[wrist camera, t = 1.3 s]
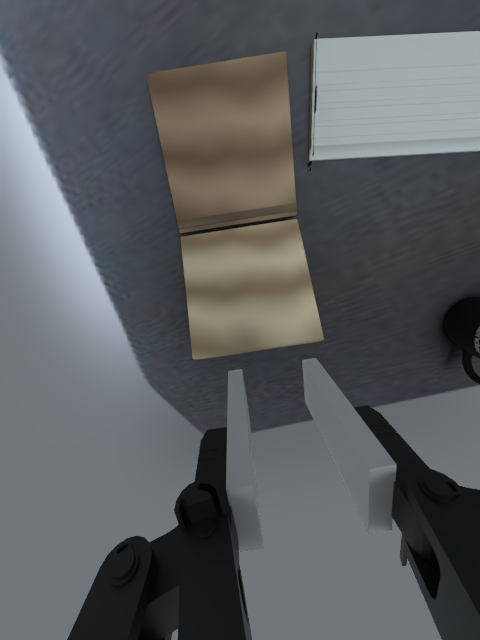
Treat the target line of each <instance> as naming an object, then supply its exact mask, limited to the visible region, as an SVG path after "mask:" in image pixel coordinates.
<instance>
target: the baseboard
mask: <svg viewBox="0 0 480 640" xmlns="http://www.w3.org/2000/svg"><path fill="white" fill-rule="evenodd" d="M317 35H318V33H317V32H316V38H315V39H314V41H313V43H312V46H311V83H310V124H309V161H310V162H309V163H308V167H309V166H310V165H311V164H312V161H325V160H342V159H359V158H376V157H393V156H411V155H428V154H445V153H462V152H480V31H472V32H451V33H430V34H410V35H389V36H368V37H347V38H326V39H317ZM310 171H311V167H310Z"/></svg>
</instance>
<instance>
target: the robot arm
mask: <svg viewBox="0 0 480 640" xmlns="http://www.w3.org/2000/svg"><path fill="white" fill-rule="evenodd" d="M302 365H303V378H304V392H305V402H306V405H307V407H308V409H309V411H310V413H311V415H312V417H313V419H314V421H315V423H316V425H317V428H318V430H319V432H320V434H321V436H322V438H323V440H324V442H325V444H326V446H327V449H328V451H329V453H330V455H331V457H332V459H333V461H334V463H335V465H336V467H337V470H338V472H339V474H340V476H341V478H342V480H343V482H344V484H345V486H346V488H347V491H348V493H349V495H350V497H351V499H352V501H353V503H354V505H355V507H356V509H357V512H358V514H359V516H360V518H361V520H362V522H363V524H364V526H365V528H366V530H367V532H368V533H373V532H380V531H387V530H392V519H394V520H395V522H396V524H397V526H398V527H399V529H400V531H401V532H402V540H401V550H400V559H401V562H402V566H406V563H407V558H408V561H409V563H410V565H411V568H412V570H413V572H414V575H415V577H416V579H417V582H418V584H419V587H420V589H421V591H422V594H423V596H424V598H425V601H426V603H427V605H428V608H429V610H430V612H431V615H432V617H433V620H434V622H435V624H436V626H437V629H438V631H439V634H440V636H441V639H442V640H480V490H477V489H471V488H466V487H462V486H459V485H458V484H457V483H456V482H455V481H453V480H452V479H450V478H449V477H447V476H446V475H444V474H442V473H440V472H437V471H435V470H432V469H430V468H429V467H428V466H427V465H426V464H425V463H424V462H423V461H422V460H421V459H420V457H419V456H418V455H417V454H416V453H415V452H414V451H413V450H412V448H411V447H410V446H409V445H408V444H407V443H406V442H405V441H404V439H403V438H402V437H401V436H400V435H399V434H398V433H396V431H395V429H394V428H393V427H392V426H391V425H389V423H388V421H387V420H386V419H385V418H384V417H383V416H382V415H381V414H380V413H379V412H377V411H376V410H374V409H373V408H371V407H369V406H362V407H355V408H353V406H352V405H351V404H350V402H349V401H348V400H347V398H346V397H345V396H344V395H343V393H342V392H341V391H340V389H339V388H338V387H337V385H336V384H335V383H334V381H333V380H332V379H331V377H330V376H329V375H328V373H327V372H326V371H325V369H324V368H323V367H322V365H321V364H320V363H319V361H318V360H317V359H316V358H313V359H306V360H302ZM174 511H175V514H176V517H177V520H178V523H179V525H178V526H177V527H176V528H174V529H173V530H171V531H170V532H168V533H167V534H165V535H163V536H161V537H159V538H157V539H155V540H153V541H151V542H148V541H147V540H146V539H145V538H144V537H140V536H134V537H131V538H127V539H126V540H124V541H123V542H121V543H120V544H118V545H117V546H116V547H115V548H114V549H113V550H112V551H111V552H110V553H109V554H108V555H107V557H106V559H105V561H104V562H103V564H102V565H101V567H100V569H99V571H98V573H97V576H96V578H95V580H94V582H93V584H92V587H91V589H90V591H89V593H88V595H87V598H86V600H85V602H84V604H83V606H82V609H81V611H80V613H79V615H78V618H77V620H76V622H75V624H74V626H73V628H72V631H71V633H70V635H69V637H68V639H67V640H171V636H172V632H173V631H175V630H176V629H178V640H252V637H251V630H250V624H249V618H248V612H247V606H246V600H245V593H244V587H243V581H242V575H241V570H240V566H239V549H240V552H241V551H248V550H254V549H260V548H263V539H262V529H261V520H260V511H259V502H258V492H257V484H256V474H255V465H254V456H253V446H252V438H251V428H250V419H249V410H248V403H247V397H246V391H245V385H244V379H243V373H242V369H239V370H233V371H228V411H227V427H225V428H218V429H211V430H207V431H206V433H205V435H204V436H203V438H202V440H201V444H200V451H199V457H198V464H197V470H196V477H195V482H193V483H191V484H189V485H188V486H187V487H186V488H185V489H184V490H183V491H182V492H181V494H180V495H179V497H178V499H177V501H176V505H175V509H174Z"/></svg>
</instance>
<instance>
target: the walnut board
mask: <svg viewBox="0 0 480 640" xmlns="http://www.w3.org/2000/svg"><path fill="white" fill-rule="evenodd" d="M146 76H147V81H148V86H149V90H150V95H151V100H152V105H153V109H154V114H155V119H156V124H157V128H158V133H159V138H160V142H161V147H162V152H163V157H164V161H165V166H166V171H167V176H168V180H169V185H170V190H171V195H172V199H173V204H174V209H175V213H176V218H177V225H178V229H179V232H180V233H181V234H186V233H193V232H199V231H206V230H212V229H219V228H225V227H232V226H238V225H245V224H251V223H258V222H264V221H271V220H277V219H284V218H290V217H294V216H296V215H297V203H296V195H295V179H294V164H293V149H292V134H291V119H290V104H289V89H288V73H287V58H286V51H284V52H277V53H271V54H265V55H259V56H252V57H246V58H240V59H234V60H227V61H221V62H215V63H209V64H202V65H196V66H190V67H184V68H177V69H171V70H165V71H159V72H152V73H146Z"/></svg>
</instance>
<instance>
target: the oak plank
mask: <svg viewBox="0 0 480 640" xmlns="http://www.w3.org/2000/svg"><path fill="white" fill-rule="evenodd" d="M181 247H182V257H183V267H184V277H185V287H186V297H187V307H188V317H189V326H190V336H191V346H192V356H193V359H195V360H199V359H206V358H212V357H219V356H226V355H232V354H239V353H246V352H252V351H259V350H266V349H272V348H279V347H286V346H292V345H299V344H306V343H312V342H319V341H321V340H324V337H323V332H322V328H321V323H320V319H319V314H318V310H317V305H316V301H315V296H314V292H313V288H312V283H311V279H310V274H309V270H308V265H307V261H306V256H305V252H304V247H303V243H302V238H301V234H300V229H299V225H298V221H297V219H293V220H286V221H280V222H273V223H267V224H260V225H254V226H247V227H241V228H234V229H228V230H221V231H215V232H208V233H202V234H195V235H189V236H182V237H181Z"/></svg>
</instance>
